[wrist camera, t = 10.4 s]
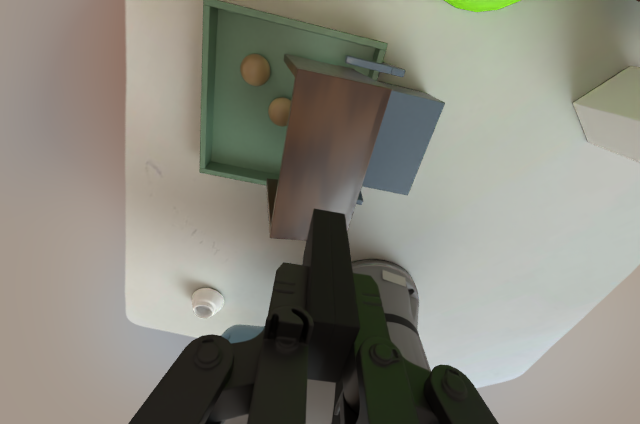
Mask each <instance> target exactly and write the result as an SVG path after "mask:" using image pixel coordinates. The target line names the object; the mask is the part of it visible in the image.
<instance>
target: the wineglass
mask: <svg viewBox="0 0 640 424" xmlns="http://www.w3.org/2000/svg"><path fill="white" fill-rule="evenodd" d="M444 1H446V2H448V3H449V4H451V5H453V6H454V7H456V8H460V9H464V10H469V11H474V12H481V11H490V10H499V9H501V8H504V7H506V6H508V5H511V4H513V3H516V2H518V1H521V0H444Z"/></svg>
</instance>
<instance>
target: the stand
mask: <svg viewBox="0 0 640 424" xmlns="http://www.w3.org/2000/svg"><path fill="white" fill-rule="evenodd" d="M345 63H346V64H351V65H355V66H359V67H363V68H367V69H371V70H375V71H379V72H383V73H387V74H392V75H396V76H400V77H403V76H404V73H405V70H404V69H401V68H399V67H396V66H394V65H391V64H388V63H384V62H382V64H381V63H377V62H373V61H369V60H365V59H361V58H357V57H353V56H349V55H346V57H345ZM377 82H378V81H377ZM379 83H381V84H383V85H385V86H387V87H389V88H391V89H392V91H391V94H390V98H389V101H388V104H387V107H386V110H385V114H384V117H383V120H382V123H381V126H380V130H379V133H378V136H377V139H376V142H375V145H374V149H373V152H372V155H371V158H370V161H369V165H368V168H367V171H366V174H365V177H364V180H363V184H362V186H364V187H369V188H374V189H379V190H384V191H388V192H393V193H398V194H403V195H408V193H409V191H410V188H411V186H412V183H413V181H414V179H415V176H416V174H417V171H418V169H419V166H420V164H421V161H422V159H423V156H424V154H425V151H426V149H427V146H428V144H429V141H430V139H431V136H432V134H433V131H434V129H435V126H436V124H437V121H438V119H439V117H440V114H441V112H442V109H443V107H444V104H445V103H444V102H442V101H440V100H438V99H436V98H435V97H433V96H431V95H429V94H427V93H424V92H420V91H416V90H412V89H408V88H403V87H399V86H395V85H391V84H387V83H383V82H379ZM362 202H363V198H362V194H361V190H360V193H359V196H358V200H357V203H356V204H359V205H362Z"/></svg>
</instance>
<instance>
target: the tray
mask: <svg viewBox="0 0 640 424" xmlns="http://www.w3.org/2000/svg"><path fill="white" fill-rule="evenodd" d="M203 4H204V5H203V44H202V89H201V133H200V173H205V174H210V175H215V176H220V177H225V178H230V179H235V180H240V181H246V182H251V183H256V184H261V185H266V181H267V178H269V179H277V180H278V178H279V172H280V166H281V160H282V154H283V148H284V141H285V135H286V129H287V126H278V125H276V124H274V123H273V122H272V121H271V119H270V117H269V114H268V109H269V105H270V104H271V102H272V101H273V100H274V99H276V98H280V97H284V98H287V99H289V100H290V101H291V98H292V92H293V86H294V80H295V77H294V75H293V74H292V72H291V71H290V69H289V68H288V67H287V65H286V64H285V62H284V54H289V55H293V56H298V57H302V58H307V59H311V60H315V61H320V62H324V63H328V64H333V65H337V66H338V65H339V66H344V67H349V68H353V69H355V71H357V72H359V73H361V74H363V75H365V76H367V77H369V78H371V79H373V80H375V81H377V79H378V76H379V71H375V70H371V69H367V68H363V67H359V66H355V65H351V64H346V63H345V57H346V55H349V56H353V57H357V58H361V59H365V60H369V61H373V62H377V63H381V64H382V62H383V58H384V55H385V52H386V51H385V50H386V48H387V45H388V44H387V43H384V42H380V41H376V40H372V39H368V38H364V37H360V36H356V35H352V34H348V33H344V32H340V31H336V30H332V29H328V28H325V27H321V26H317V25H313V24H309V23H305V22H301V21H297V20H293V19H289V18H285V17H281V16H277V15H273V14H270V13H266V12H262V11H258V10H254V9H250V8H246V7H242V6H238V5H234V4H230V3H226V2H222V1H218V0H203ZM250 54H259V55H261V56H263V57H264V58H265V59H266V60H267V61H268V63H269V66H270V77H269V79H268V81H267V82H266V83H265V84H263V85H261V86H252V85H250V84H248V83H247V82H246V81H245V80H244V79H243V77H242V75H241V71H240V66H241V62H242V60H243V59H244V58H245V57H246V56H247V55H250Z"/></svg>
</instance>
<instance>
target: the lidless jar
mask: <svg viewBox="0 0 640 424" xmlns="http://www.w3.org/2000/svg"><path fill="white" fill-rule="evenodd" d="M223 305H224V298H223V297H222V295H221V294H220V293H219V292H217V291H216V290H213V289H210V288H202V289H198V290H197V291H195V292H194V293H193V296H192V306H193V312H194V314H195V315H196V316H197V317H199V318H203V319H207V318H210V317H211V316H213V315H214V314H215V313H217V312H218V311H219V310H220V309H222V307H223Z"/></svg>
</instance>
